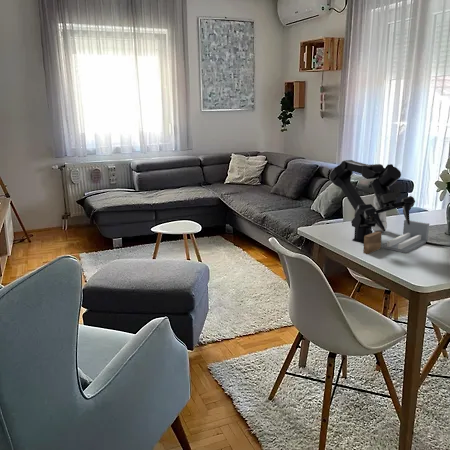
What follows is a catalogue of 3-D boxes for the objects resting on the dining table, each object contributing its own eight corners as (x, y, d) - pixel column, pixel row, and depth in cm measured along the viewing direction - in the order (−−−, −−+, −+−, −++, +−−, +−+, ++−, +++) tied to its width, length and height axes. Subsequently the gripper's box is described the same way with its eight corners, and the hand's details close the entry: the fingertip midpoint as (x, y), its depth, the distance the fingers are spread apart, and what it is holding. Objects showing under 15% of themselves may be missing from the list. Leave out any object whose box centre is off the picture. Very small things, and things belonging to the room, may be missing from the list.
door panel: (363, 253, 174) (364, 236, 172) (376, 247, 180) (377, 230, 179) (367, 254, 172) (369, 237, 171) (380, 248, 179) (381, 231, 177)
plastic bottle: (389, 232, 202) (393, 188, 196) (377, 233, 199) (380, 190, 194) (380, 228, 207) (383, 186, 202) (368, 230, 205) (371, 187, 200)
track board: (381, 247, 180) (383, 228, 177) (404, 237, 193) (405, 219, 191) (405, 252, 172) (407, 233, 170) (427, 242, 186) (429, 223, 184)
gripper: (360, 190, 168) (374, 227, 162) (409, 176, 166) (425, 213, 159) (358, 202, 178) (371, 237, 172) (405, 188, 176) (420, 223, 170)
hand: (396, 227), depth 168 cm, fingers open, 9 cm apart
